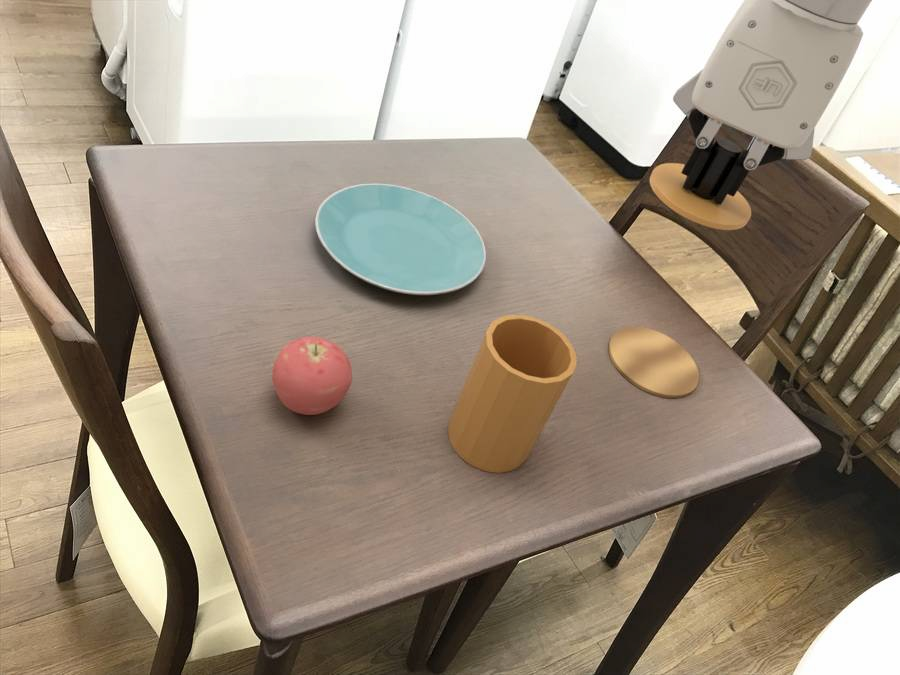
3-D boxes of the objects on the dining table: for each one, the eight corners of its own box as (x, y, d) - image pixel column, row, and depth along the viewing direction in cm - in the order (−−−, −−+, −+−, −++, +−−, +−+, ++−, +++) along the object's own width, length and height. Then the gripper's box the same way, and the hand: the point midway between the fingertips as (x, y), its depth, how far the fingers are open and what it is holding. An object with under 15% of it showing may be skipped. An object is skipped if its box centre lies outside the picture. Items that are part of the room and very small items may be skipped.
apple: (252, 397, 75) (260, 339, 70) (305, 364, 80) (317, 308, 75) (305, 443, 73) (318, 387, 68) (357, 406, 78) (373, 351, 73)
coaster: (713, 374, 98) (715, 371, 98) (667, 412, 90) (669, 410, 90) (639, 317, 103) (641, 314, 102) (590, 350, 95) (591, 347, 95)
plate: (491, 320, 94) (498, 303, 92) (308, 294, 88) (312, 275, 86) (470, 215, 110) (475, 198, 108) (314, 188, 104) (317, 170, 102)
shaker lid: (760, 218, 73) (797, 162, 69) (716, 247, 67) (754, 187, 63) (677, 164, 77) (707, 108, 73) (627, 187, 70) (657, 127, 66)
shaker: (544, 447, 81) (594, 359, 72) (491, 487, 75) (538, 396, 66) (485, 394, 84) (525, 303, 76) (430, 428, 79) (467, 334, 70)
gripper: (715, -42, 57) (614, 169, 69) (924, 45, 55) (782, 247, 67) (726, -58, 63) (631, 140, 75) (916, 20, 61) (787, 210, 73)
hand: (704, 189), depth 71 cm, fingers closed on shaker lid, 2 cm apart
